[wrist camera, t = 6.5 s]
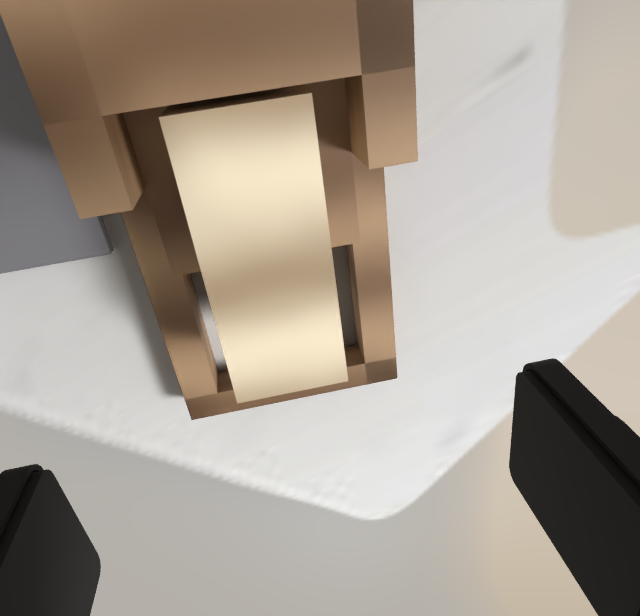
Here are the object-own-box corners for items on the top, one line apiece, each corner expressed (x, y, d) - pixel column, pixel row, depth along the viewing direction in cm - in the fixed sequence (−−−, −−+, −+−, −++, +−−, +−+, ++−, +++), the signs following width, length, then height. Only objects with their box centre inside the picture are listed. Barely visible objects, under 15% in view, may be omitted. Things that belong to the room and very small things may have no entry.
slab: (168, 105, 19) (158, 117, 16) (300, 84, 19) (312, 92, 16) (236, 364, 25) (237, 403, 22) (336, 344, 25) (348, 381, 22)
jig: (63, -1, 20) (-11, -15, 14) (358, -42, 21) (410, -73, 15) (194, 397, 30) (184, 490, 24) (387, 358, 31) (426, 438, 25)
